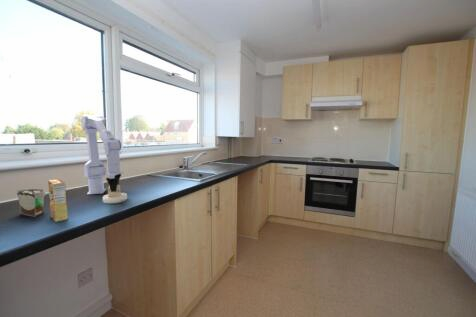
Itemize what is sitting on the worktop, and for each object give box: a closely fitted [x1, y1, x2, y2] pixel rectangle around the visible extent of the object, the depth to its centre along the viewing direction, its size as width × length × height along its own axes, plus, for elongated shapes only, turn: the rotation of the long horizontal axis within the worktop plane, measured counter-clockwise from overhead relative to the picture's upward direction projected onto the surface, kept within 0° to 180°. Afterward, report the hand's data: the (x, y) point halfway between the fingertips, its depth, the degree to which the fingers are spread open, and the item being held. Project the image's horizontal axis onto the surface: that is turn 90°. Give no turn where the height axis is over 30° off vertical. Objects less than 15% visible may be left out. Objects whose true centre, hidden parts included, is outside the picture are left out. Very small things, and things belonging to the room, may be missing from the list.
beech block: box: [107, 184, 122, 197], centre depth 115 cm, size 5×5×5 cm
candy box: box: [47, 178, 68, 223], centre depth 91 cm, size 9×4×15 cm, turn 50°
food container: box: [16, 188, 47, 218], centre depth 96 cm, size 12×6×10 cm, turn 71°
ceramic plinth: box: [102, 192, 128, 205], centre depth 115 cm, size 11×11×2 cm
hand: (114, 189), depth 115 cm, fingers open, 7 cm apart
